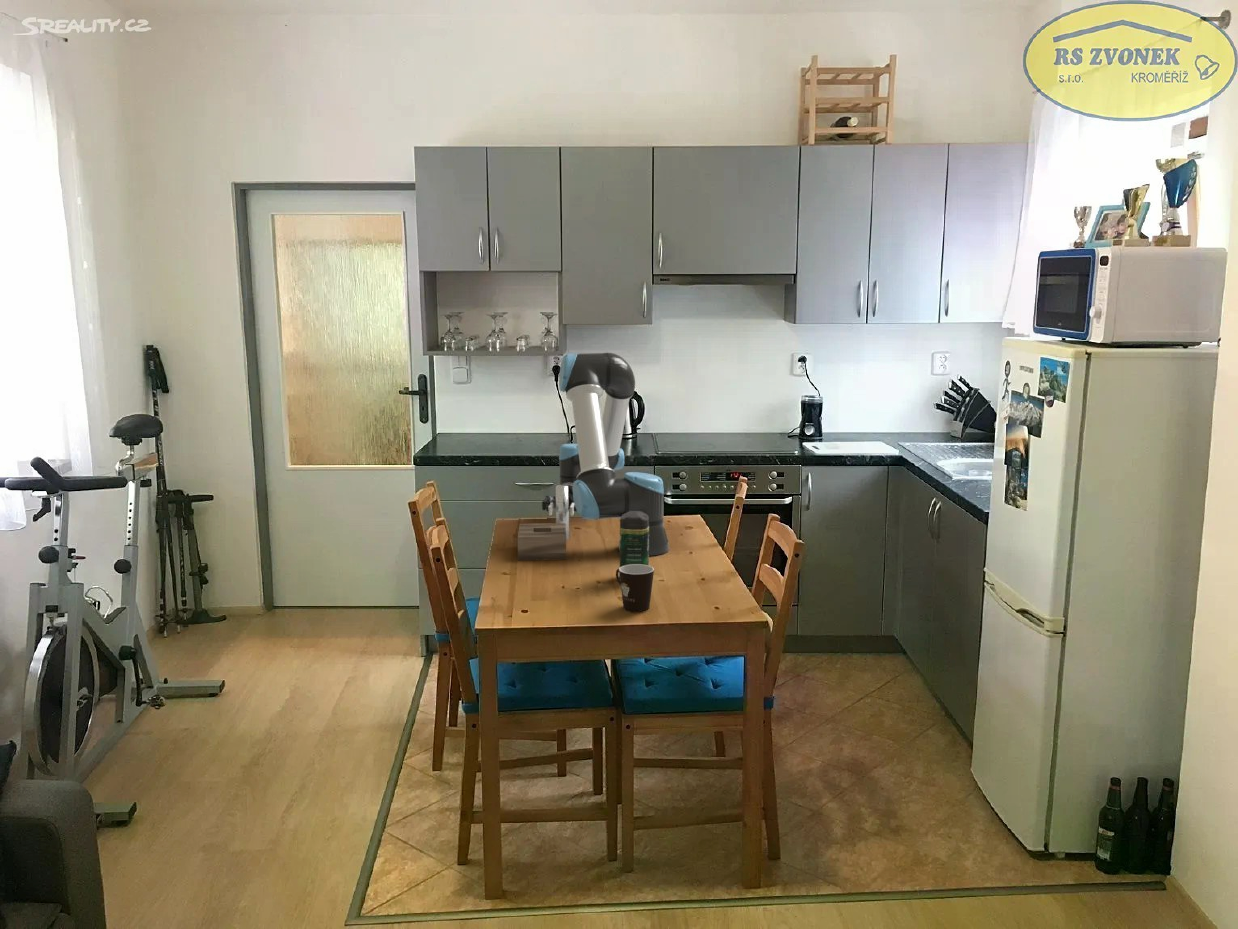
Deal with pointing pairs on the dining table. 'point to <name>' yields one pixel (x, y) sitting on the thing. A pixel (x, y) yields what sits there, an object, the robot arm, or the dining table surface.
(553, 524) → the socket block
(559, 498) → the steel pin
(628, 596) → the coffee mug
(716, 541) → the dining table surface
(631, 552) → the coffee jar
